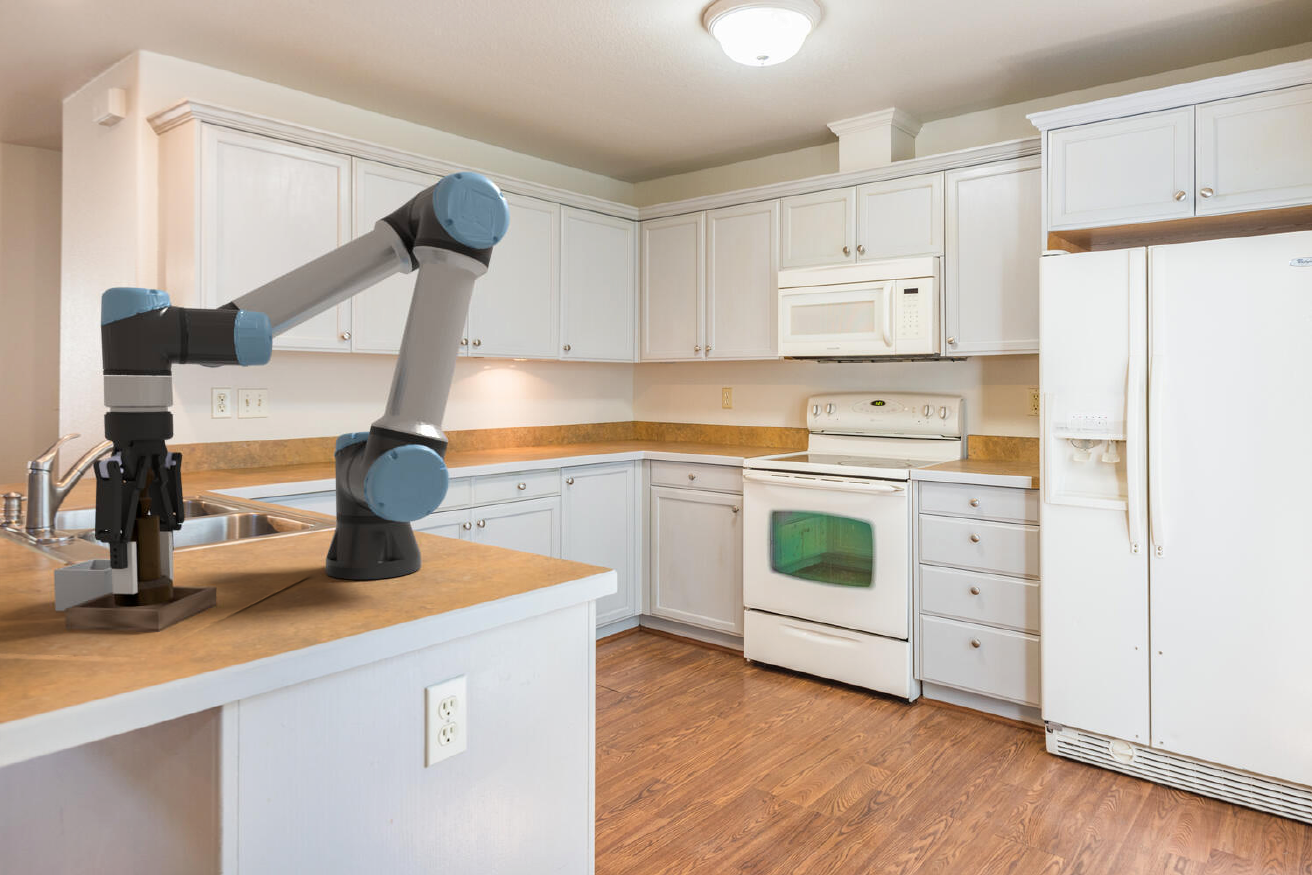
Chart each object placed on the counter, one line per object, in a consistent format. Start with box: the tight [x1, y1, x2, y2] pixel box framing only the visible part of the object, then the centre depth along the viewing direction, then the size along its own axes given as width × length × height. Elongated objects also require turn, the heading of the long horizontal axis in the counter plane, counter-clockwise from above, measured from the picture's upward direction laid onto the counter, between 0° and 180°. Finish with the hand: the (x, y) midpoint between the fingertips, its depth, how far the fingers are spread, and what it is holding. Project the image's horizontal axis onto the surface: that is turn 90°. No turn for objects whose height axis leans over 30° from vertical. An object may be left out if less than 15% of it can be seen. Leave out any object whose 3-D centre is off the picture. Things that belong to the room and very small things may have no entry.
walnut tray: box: [64, 585, 218, 633], centre depth 107 cm, size 12×12×3 cm
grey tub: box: [53, 558, 113, 612], centre depth 112 cm, size 7×7×6 cm
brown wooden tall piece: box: [114, 467, 174, 607], centre depth 106 cm, size 7×6×18 cm
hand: (144, 585), depth 107 cm, fingers closed on brown wooden tall piece, 6 cm apart
